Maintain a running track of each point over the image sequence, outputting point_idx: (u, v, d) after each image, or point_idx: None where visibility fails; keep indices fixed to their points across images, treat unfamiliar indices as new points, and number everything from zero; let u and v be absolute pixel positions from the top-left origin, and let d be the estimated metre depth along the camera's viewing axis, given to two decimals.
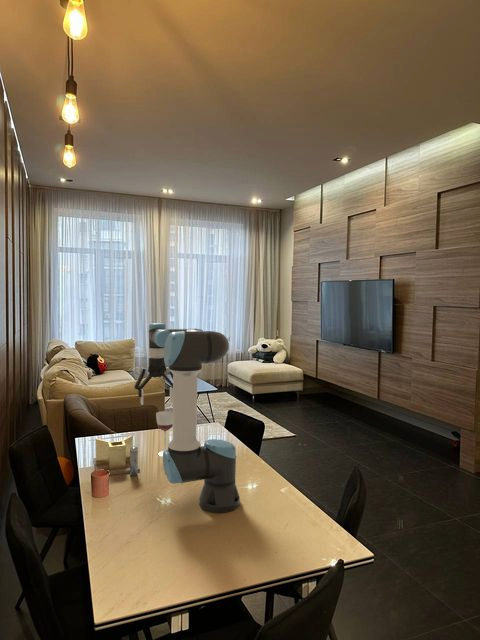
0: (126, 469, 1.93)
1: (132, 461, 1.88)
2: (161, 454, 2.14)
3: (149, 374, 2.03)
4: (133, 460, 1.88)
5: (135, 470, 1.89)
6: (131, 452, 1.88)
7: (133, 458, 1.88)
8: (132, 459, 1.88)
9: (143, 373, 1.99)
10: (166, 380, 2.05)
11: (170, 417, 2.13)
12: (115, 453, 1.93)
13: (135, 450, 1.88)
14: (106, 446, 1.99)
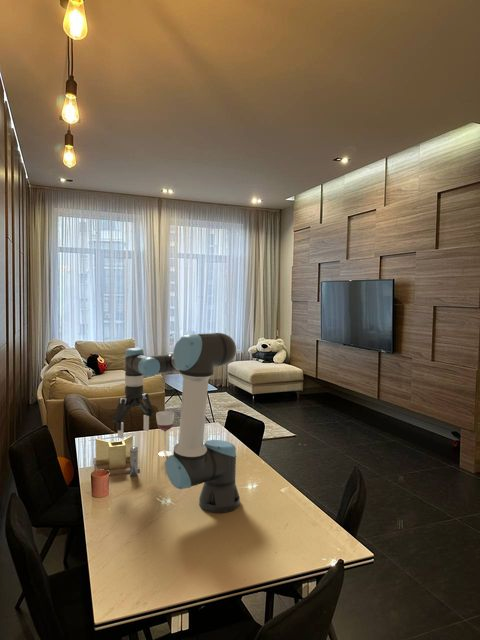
0: (126, 469, 1.93)
1: (132, 461, 1.88)
2: (161, 454, 2.14)
3: (126, 404, 1.87)
4: (133, 460, 1.88)
5: (135, 470, 1.89)
6: (131, 452, 1.88)
7: (133, 458, 1.88)
8: (132, 459, 1.88)
9: (123, 404, 1.83)
10: (142, 408, 1.92)
11: (170, 417, 2.13)
12: (115, 453, 1.93)
13: (135, 450, 1.88)
14: (106, 446, 1.99)
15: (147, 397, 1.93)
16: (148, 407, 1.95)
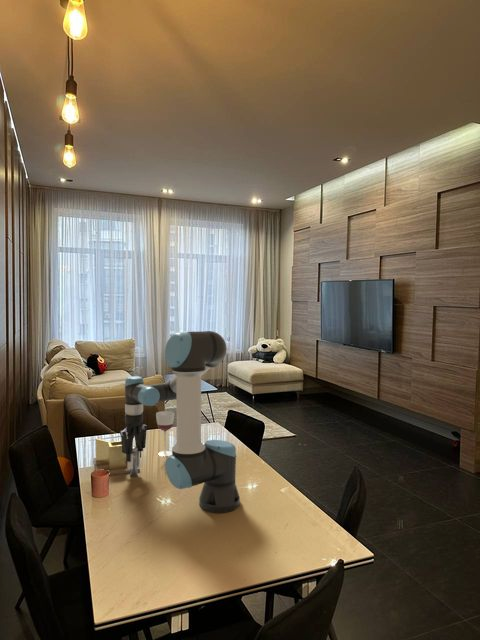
0: (126, 469, 1.93)
1: None
2: (161, 454, 2.14)
3: (128, 434, 1.88)
4: (133, 460, 1.88)
5: (135, 470, 1.89)
6: (131, 452, 1.88)
7: (133, 458, 1.88)
8: None
9: (125, 436, 1.84)
10: (136, 440, 1.91)
11: (170, 417, 2.13)
12: (115, 453, 1.93)
13: (135, 450, 1.88)
14: (106, 446, 1.99)
15: (146, 429, 1.93)
16: (142, 440, 1.93)
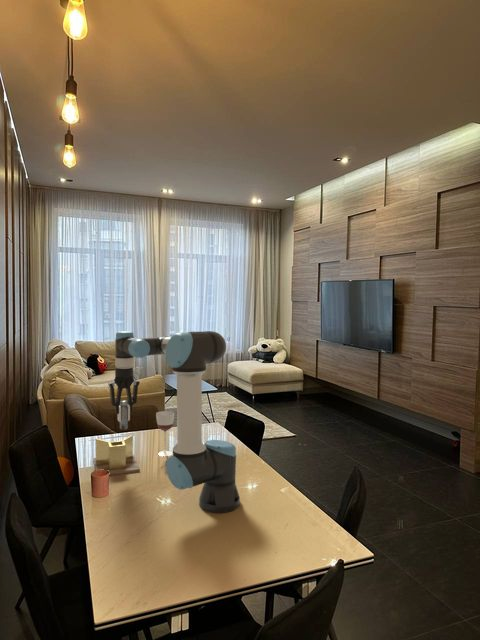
0: (126, 469, 1.93)
1: (121, 414, 1.92)
2: (161, 454, 2.14)
3: None
4: (121, 413, 1.92)
5: (123, 423, 1.92)
6: (120, 405, 1.92)
7: (121, 411, 1.92)
8: (121, 412, 1.92)
9: (112, 388, 1.89)
10: (127, 394, 1.93)
11: (170, 417, 2.13)
12: (115, 453, 1.93)
13: (124, 404, 1.91)
14: (106, 446, 1.99)
15: (137, 384, 1.94)
16: (133, 395, 1.95)
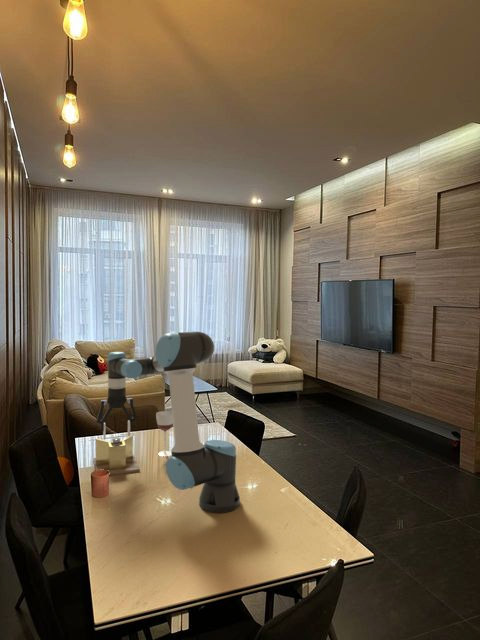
0: (126, 469, 1.93)
1: None
2: (161, 454, 2.14)
3: (109, 405, 1.96)
4: None
5: None
6: (113, 443, 1.96)
7: None
8: None
9: (102, 406, 1.92)
10: (125, 412, 1.97)
11: (170, 417, 2.13)
12: (115, 453, 1.93)
13: (115, 442, 1.95)
14: (106, 446, 1.99)
15: (131, 402, 1.97)
16: (132, 413, 1.98)
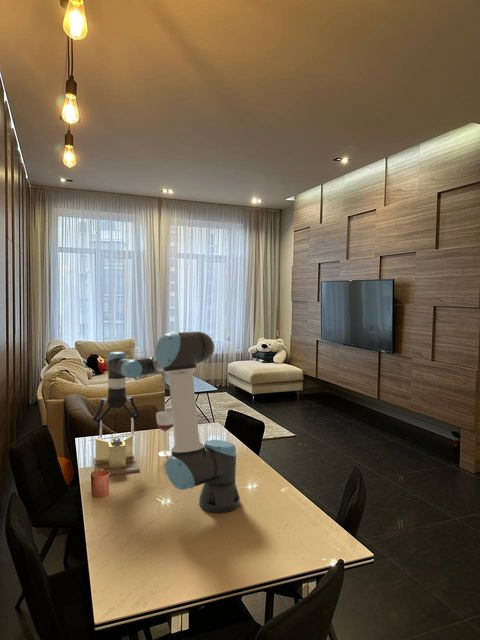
0: (126, 469, 1.93)
1: None
2: (161, 454, 2.14)
3: (109, 405, 1.96)
4: None
5: None
6: (113, 443, 1.96)
7: None
8: None
9: (101, 404, 1.92)
10: (127, 411, 1.97)
11: (170, 417, 2.13)
12: (115, 453, 1.93)
13: (116, 442, 1.95)
14: (106, 446, 1.99)
15: (131, 401, 1.97)
16: None
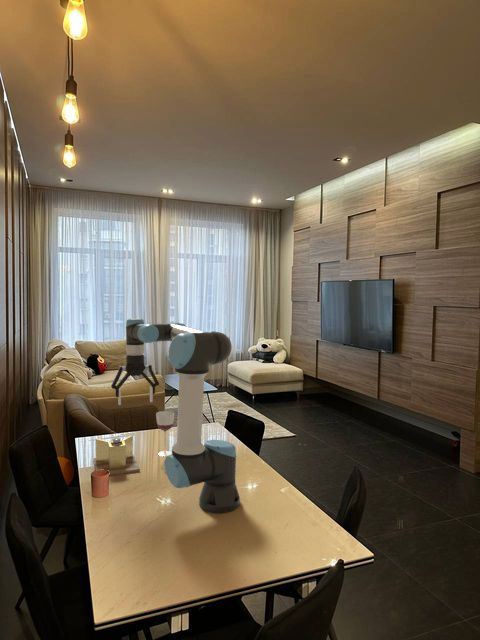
0: (126, 469, 1.93)
1: None
2: (161, 454, 2.14)
3: (127, 372, 1.92)
4: None
5: None
6: (113, 443, 1.96)
7: None
8: None
9: (120, 371, 1.88)
10: None
11: (170, 417, 2.13)
12: (115, 453, 1.93)
13: (116, 442, 1.95)
14: (106, 446, 1.99)
15: (150, 368, 1.93)
16: (153, 379, 1.95)
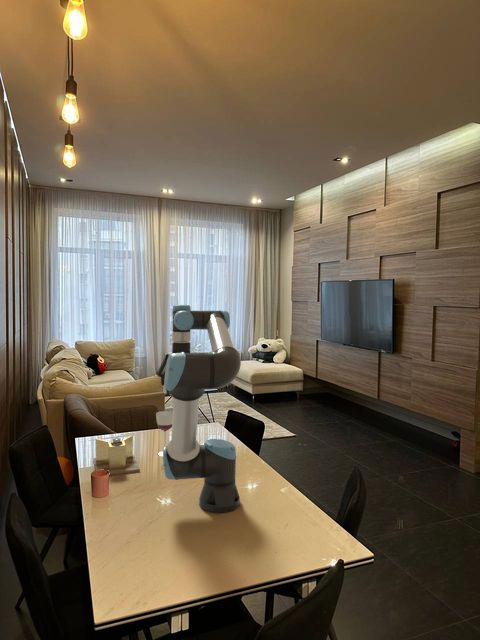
0: (126, 469, 1.93)
1: None
2: (161, 454, 2.14)
3: None
4: None
5: None
6: (113, 443, 1.96)
7: None
8: None
9: (166, 359, 1.82)
10: None
11: (170, 417, 2.13)
12: (115, 453, 1.93)
13: (116, 441, 1.95)
14: (106, 446, 1.99)
15: None
16: None
